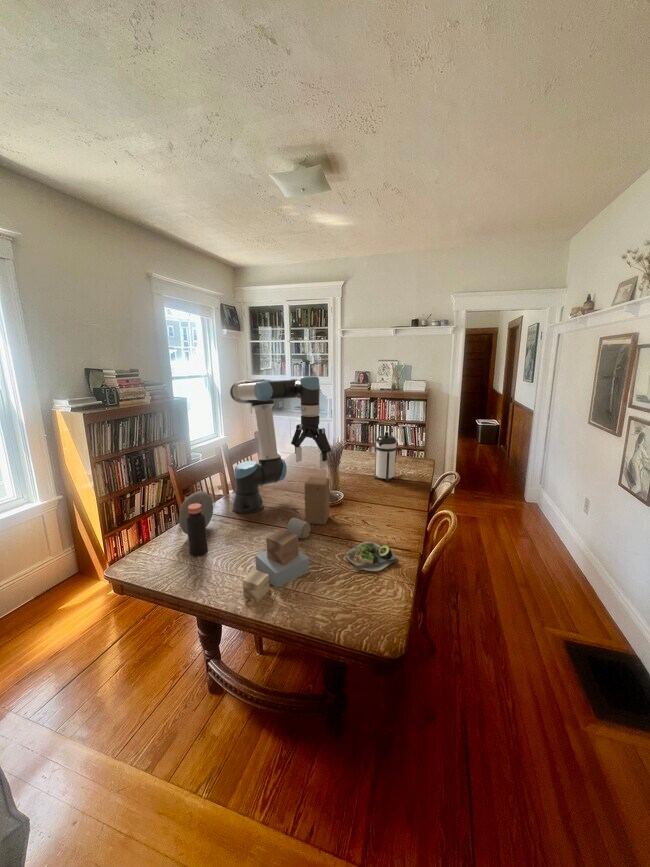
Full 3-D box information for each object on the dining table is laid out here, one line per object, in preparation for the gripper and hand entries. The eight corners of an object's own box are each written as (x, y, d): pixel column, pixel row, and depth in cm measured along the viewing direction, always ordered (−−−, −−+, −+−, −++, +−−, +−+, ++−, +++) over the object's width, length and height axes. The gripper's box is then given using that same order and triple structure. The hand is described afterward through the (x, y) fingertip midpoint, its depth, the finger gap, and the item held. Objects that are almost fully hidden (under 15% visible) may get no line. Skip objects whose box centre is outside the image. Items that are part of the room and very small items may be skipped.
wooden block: (325, 525, 156) (325, 485, 152) (304, 523, 158) (304, 483, 154) (329, 515, 166) (329, 477, 161) (309, 513, 168) (309, 475, 163)
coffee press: (400, 482, 208) (403, 435, 201) (374, 482, 208) (376, 434, 201) (395, 472, 225) (397, 428, 218) (370, 472, 225) (372, 428, 218)
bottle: (211, 548, 138) (207, 503, 133) (201, 558, 132) (197, 510, 127) (196, 546, 139) (191, 501, 135) (186, 555, 133) (181, 508, 128)
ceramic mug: (302, 542, 143) (302, 525, 141) (286, 537, 146) (286, 521, 144) (314, 531, 152) (314, 515, 150) (299, 527, 155) (299, 511, 154)
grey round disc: (207, 521, 160) (204, 484, 155) (219, 524, 157) (216, 486, 153) (176, 541, 143) (171, 499, 139) (188, 544, 141) (184, 503, 136)
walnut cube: (267, 557, 123) (266, 537, 121) (282, 547, 129) (281, 528, 127) (283, 565, 118) (283, 545, 116) (298, 554, 124) (298, 535, 123)
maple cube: (243, 595, 112) (242, 579, 110) (254, 584, 117) (253, 569, 116) (258, 601, 109) (257, 585, 108) (269, 589, 114) (268, 574, 113)
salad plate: (371, 583, 118) (371, 572, 117) (335, 561, 131) (335, 550, 130) (403, 561, 131) (404, 550, 130) (367, 542, 144) (368, 532, 142)
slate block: (256, 569, 126) (255, 554, 124) (287, 555, 134) (287, 541, 133) (276, 588, 115) (275, 573, 114) (309, 572, 124) (309, 557, 123)
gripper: (282, 412, 143) (283, 460, 148) (327, 420, 127) (327, 473, 132) (294, 410, 148) (295, 456, 153) (340, 417, 133) (339, 468, 138)
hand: (310, 464), depth 143 cm, fingers open, 13 cm apart
